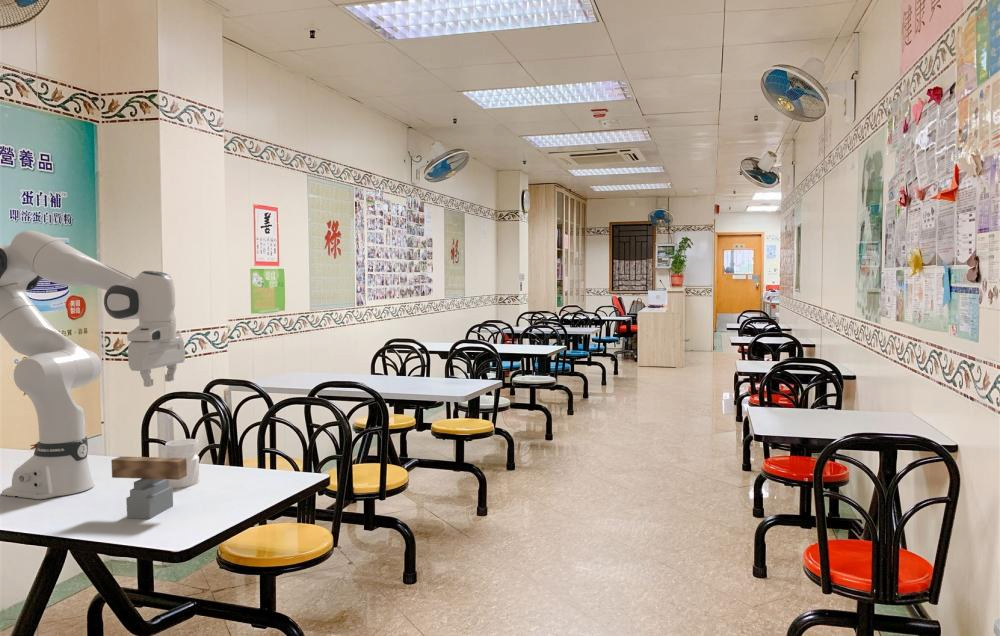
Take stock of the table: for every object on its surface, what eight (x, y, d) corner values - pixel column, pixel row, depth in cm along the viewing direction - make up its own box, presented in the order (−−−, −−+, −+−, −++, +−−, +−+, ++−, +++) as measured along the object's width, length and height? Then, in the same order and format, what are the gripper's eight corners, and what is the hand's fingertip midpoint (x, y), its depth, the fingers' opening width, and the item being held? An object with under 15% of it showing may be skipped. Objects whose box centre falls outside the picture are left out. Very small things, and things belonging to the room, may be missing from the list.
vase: (191, 477, 212) (189, 437, 212) (205, 482, 206) (204, 441, 206) (161, 483, 206) (159, 442, 205) (175, 489, 200) (173, 447, 199)
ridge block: (127, 518, 176) (125, 481, 175) (151, 505, 186) (150, 471, 185) (149, 518, 175) (148, 482, 175) (173, 505, 185) (171, 471, 185)
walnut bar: (112, 477, 179) (111, 459, 179) (121, 473, 183) (120, 456, 183) (178, 479, 177) (178, 461, 177) (186, 475, 181) (186, 458, 180)
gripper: (169, 329, 201) (170, 378, 202) (122, 334, 181) (124, 389, 181) (190, 329, 200) (191, 378, 201) (145, 335, 180) (147, 389, 181)
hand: (159, 383), depth 191 cm, fingers open, 8 cm apart
